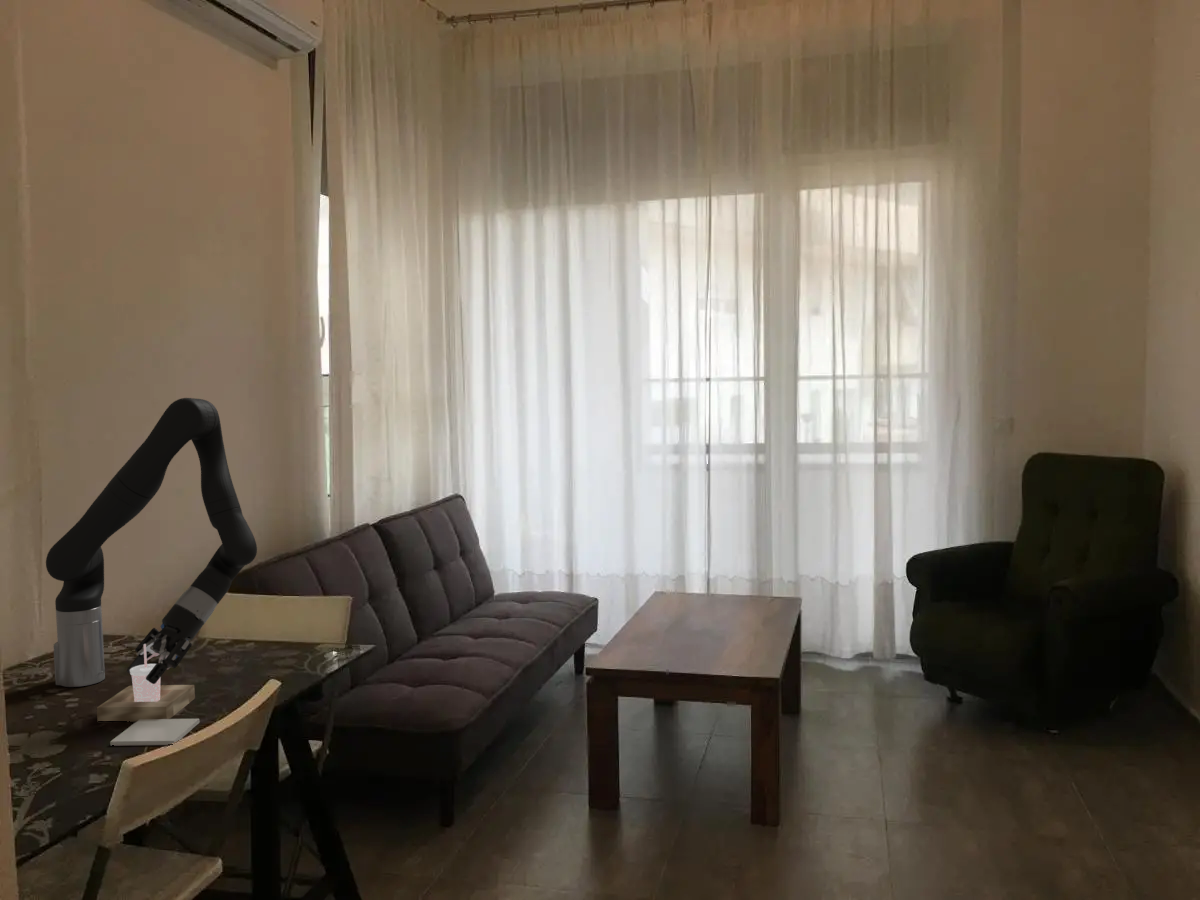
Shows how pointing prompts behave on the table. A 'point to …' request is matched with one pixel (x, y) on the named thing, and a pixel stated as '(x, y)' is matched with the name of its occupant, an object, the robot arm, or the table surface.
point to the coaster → (155, 732)
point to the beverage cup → (144, 682)
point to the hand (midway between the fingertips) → (139, 677)
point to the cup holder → (146, 704)
